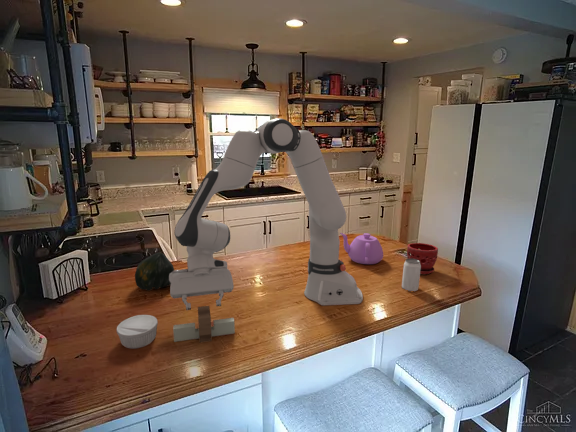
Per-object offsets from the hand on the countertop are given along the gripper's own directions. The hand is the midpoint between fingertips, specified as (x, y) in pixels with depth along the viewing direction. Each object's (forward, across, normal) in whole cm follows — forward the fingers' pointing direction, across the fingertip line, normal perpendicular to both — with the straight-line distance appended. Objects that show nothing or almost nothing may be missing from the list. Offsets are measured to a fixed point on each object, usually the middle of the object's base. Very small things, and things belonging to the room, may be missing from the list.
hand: (203, 307), depth 110 cm
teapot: (-25, +78, +34) cm, 89 cm away
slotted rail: (+9, 0, 0) cm, 9 cm away
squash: (-20, -17, +29) cm, 39 cm away
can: (0, +82, +10) cm, 83 cm away
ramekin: (+7, -19, +2) cm, 21 cm away
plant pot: (-11, +99, +21) cm, 102 cm away
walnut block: (+9, 0, 0) cm, 9 cm away
